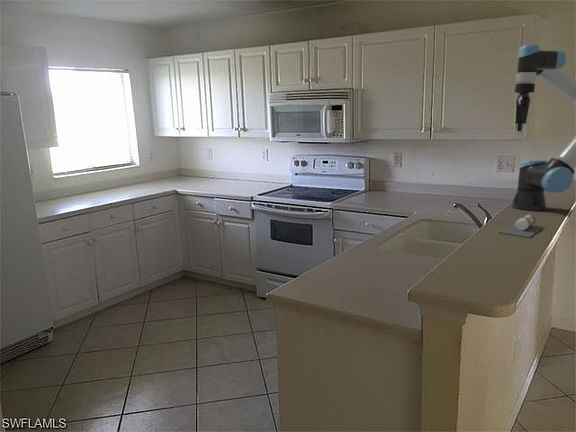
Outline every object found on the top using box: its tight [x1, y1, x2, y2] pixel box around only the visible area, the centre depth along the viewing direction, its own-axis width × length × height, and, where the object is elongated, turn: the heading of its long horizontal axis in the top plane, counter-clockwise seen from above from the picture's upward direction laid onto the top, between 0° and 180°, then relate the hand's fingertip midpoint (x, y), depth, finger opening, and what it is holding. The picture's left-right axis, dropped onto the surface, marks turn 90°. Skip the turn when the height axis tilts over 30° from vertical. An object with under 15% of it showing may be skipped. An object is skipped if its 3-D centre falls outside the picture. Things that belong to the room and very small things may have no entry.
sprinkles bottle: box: [515, 213, 537, 231], centre depth 194 cm, size 5×5×14 cm
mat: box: [498, 222, 544, 239], centre depth 191 cm, size 20×11×1 cm, turn 140°
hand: (519, 138), depth 212 cm, fingers closed
